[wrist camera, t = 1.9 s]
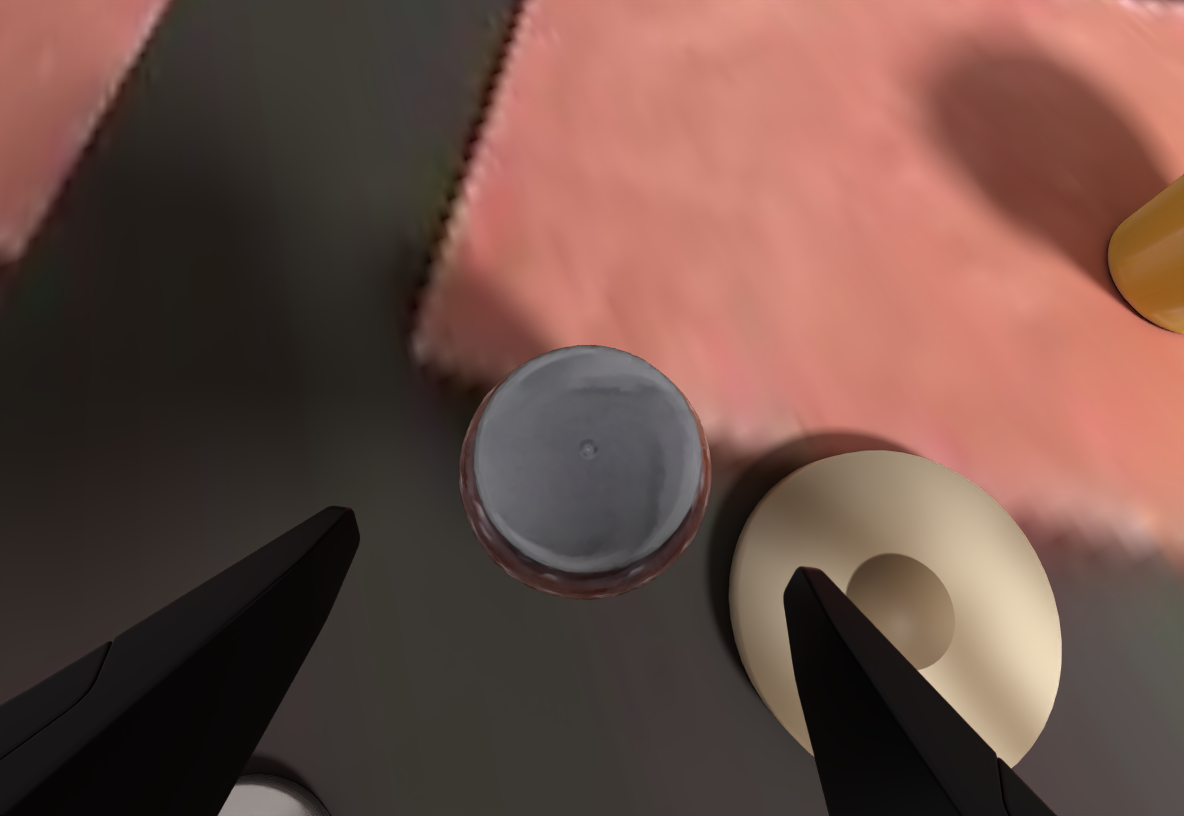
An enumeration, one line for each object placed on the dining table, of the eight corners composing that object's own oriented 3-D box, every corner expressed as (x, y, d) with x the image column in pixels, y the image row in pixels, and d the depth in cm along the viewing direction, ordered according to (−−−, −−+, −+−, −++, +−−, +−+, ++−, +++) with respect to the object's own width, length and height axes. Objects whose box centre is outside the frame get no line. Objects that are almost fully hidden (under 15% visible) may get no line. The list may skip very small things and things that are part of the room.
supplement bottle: (495, 437, 19) (376, 337, 8) (628, 397, 20) (689, 249, 8) (534, 580, 18) (458, 693, 7) (675, 532, 18) (818, 565, 7)
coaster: (932, 859, 16) (962, 888, 15) (667, 625, 17) (674, 633, 16) (1081, 584, 18) (1118, 589, 17) (835, 397, 20) (852, 390, 18)
